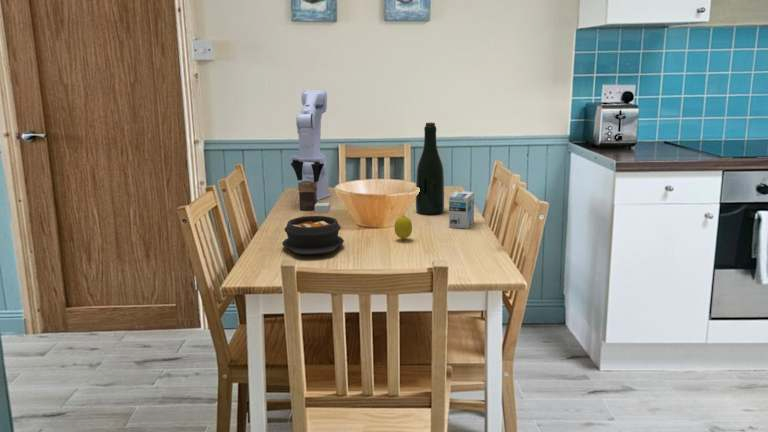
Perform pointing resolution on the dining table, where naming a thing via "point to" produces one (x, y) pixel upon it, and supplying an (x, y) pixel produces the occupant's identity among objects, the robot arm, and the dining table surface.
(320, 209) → the grey block
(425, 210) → the wine bottle
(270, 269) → the dining table surface
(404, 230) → the lemon
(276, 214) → the dining table surface
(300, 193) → the box
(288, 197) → the dining table surface
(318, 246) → the casserole
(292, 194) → the dining table surface
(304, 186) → the walnut block
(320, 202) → the tile
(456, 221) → the light bulb box
